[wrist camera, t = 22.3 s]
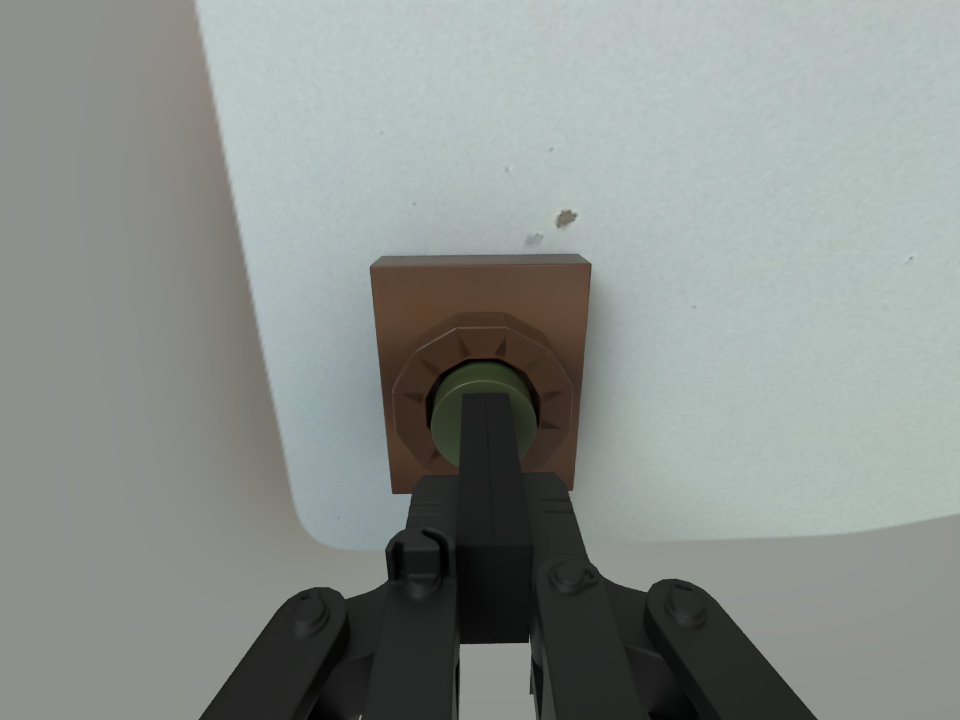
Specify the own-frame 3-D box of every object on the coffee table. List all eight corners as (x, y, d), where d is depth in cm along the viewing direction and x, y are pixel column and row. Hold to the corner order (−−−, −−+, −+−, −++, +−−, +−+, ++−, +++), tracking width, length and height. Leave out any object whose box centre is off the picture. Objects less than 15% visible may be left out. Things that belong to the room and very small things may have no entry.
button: (529, 445, 18) (535, 472, 16) (436, 446, 18) (432, 474, 16) (532, 359, 16) (539, 379, 15) (432, 360, 16) (428, 381, 15)
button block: (564, 462, 22) (582, 519, 18) (399, 465, 22) (384, 523, 18) (578, 253, 18) (606, 272, 15) (380, 256, 18) (357, 276, 15)
